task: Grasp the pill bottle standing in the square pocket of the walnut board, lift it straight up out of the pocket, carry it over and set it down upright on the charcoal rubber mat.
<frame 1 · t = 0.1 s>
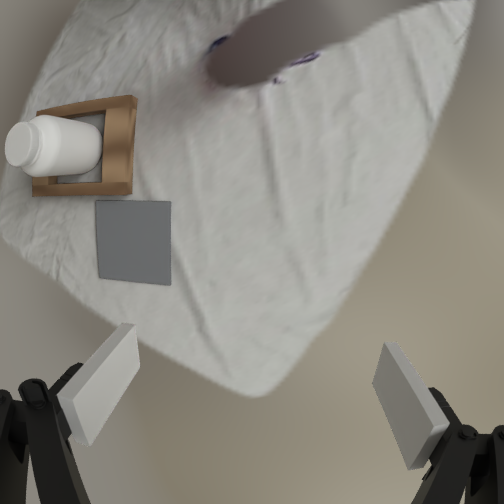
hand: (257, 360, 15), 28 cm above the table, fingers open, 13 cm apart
pocket board: (83, 148, 40), on the table
mat: (132, 241, 43), on the table
pill bottle: (83, 148, 41), on the table
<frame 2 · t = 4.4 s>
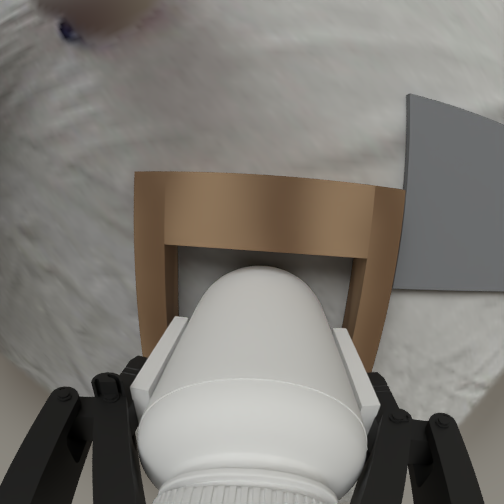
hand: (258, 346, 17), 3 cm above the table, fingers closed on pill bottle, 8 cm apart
pocket board: (260, 323, 19), on the table
mat: (476, 203, 17), on the table
pill bottle: (260, 322, 19), on the table, touching gripper
when the fingers open (5 cm above the table, at t = 10.7 s): pill bottle drops 1 cm, resting on mat.
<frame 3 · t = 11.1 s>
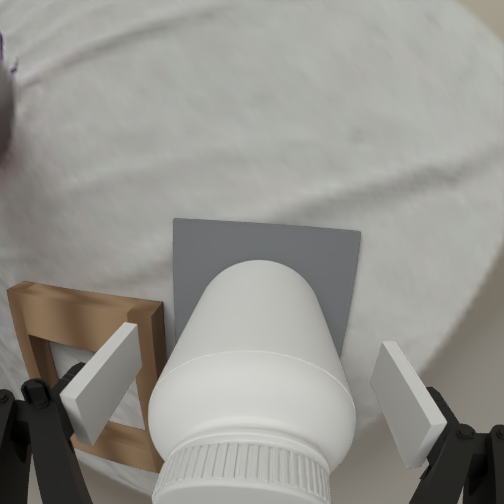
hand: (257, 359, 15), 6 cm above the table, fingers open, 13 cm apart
pocket board: (98, 382, 24), on the table
mat: (261, 310, 21), on the table
pill bottle: (260, 313, 21), resting on mat
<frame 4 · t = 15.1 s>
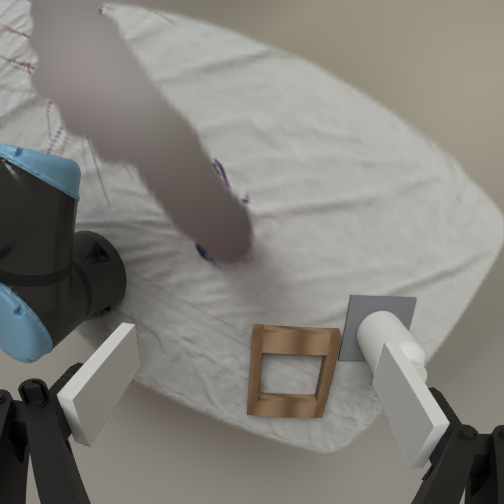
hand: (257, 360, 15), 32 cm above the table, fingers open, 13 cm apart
pocket board: (290, 371, 51), on the table
mat: (377, 329, 48), on the table
pill bottle: (377, 330, 48), resting on mat
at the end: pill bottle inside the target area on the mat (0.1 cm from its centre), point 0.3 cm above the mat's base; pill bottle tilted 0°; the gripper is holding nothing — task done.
